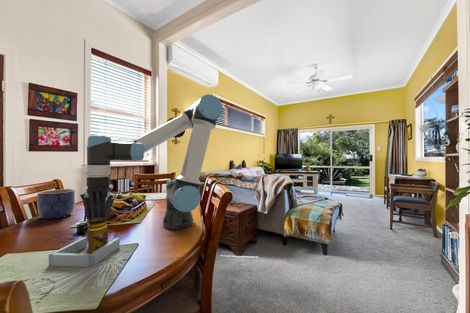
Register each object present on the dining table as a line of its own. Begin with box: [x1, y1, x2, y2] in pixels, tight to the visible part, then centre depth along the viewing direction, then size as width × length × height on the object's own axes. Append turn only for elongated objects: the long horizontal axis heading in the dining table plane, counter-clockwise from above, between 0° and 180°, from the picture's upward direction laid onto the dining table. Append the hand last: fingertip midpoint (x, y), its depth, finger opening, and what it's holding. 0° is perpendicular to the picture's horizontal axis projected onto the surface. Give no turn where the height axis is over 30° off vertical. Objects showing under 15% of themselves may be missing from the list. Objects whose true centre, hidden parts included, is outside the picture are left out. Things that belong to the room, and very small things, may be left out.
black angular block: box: [71, 221, 89, 238], centre depth 94 cm, size 12×7×5 cm, turn 16°
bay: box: [48, 236, 121, 268], centre depth 72 cm, size 14×14×4 cm
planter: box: [36, 188, 76, 220], centre depth 120 cm, size 16×16×15 cm
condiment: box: [81, 217, 109, 254], centre depth 75 cm, size 7×8×12 cm
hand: (97, 237), depth 79 cm, fingers closed
